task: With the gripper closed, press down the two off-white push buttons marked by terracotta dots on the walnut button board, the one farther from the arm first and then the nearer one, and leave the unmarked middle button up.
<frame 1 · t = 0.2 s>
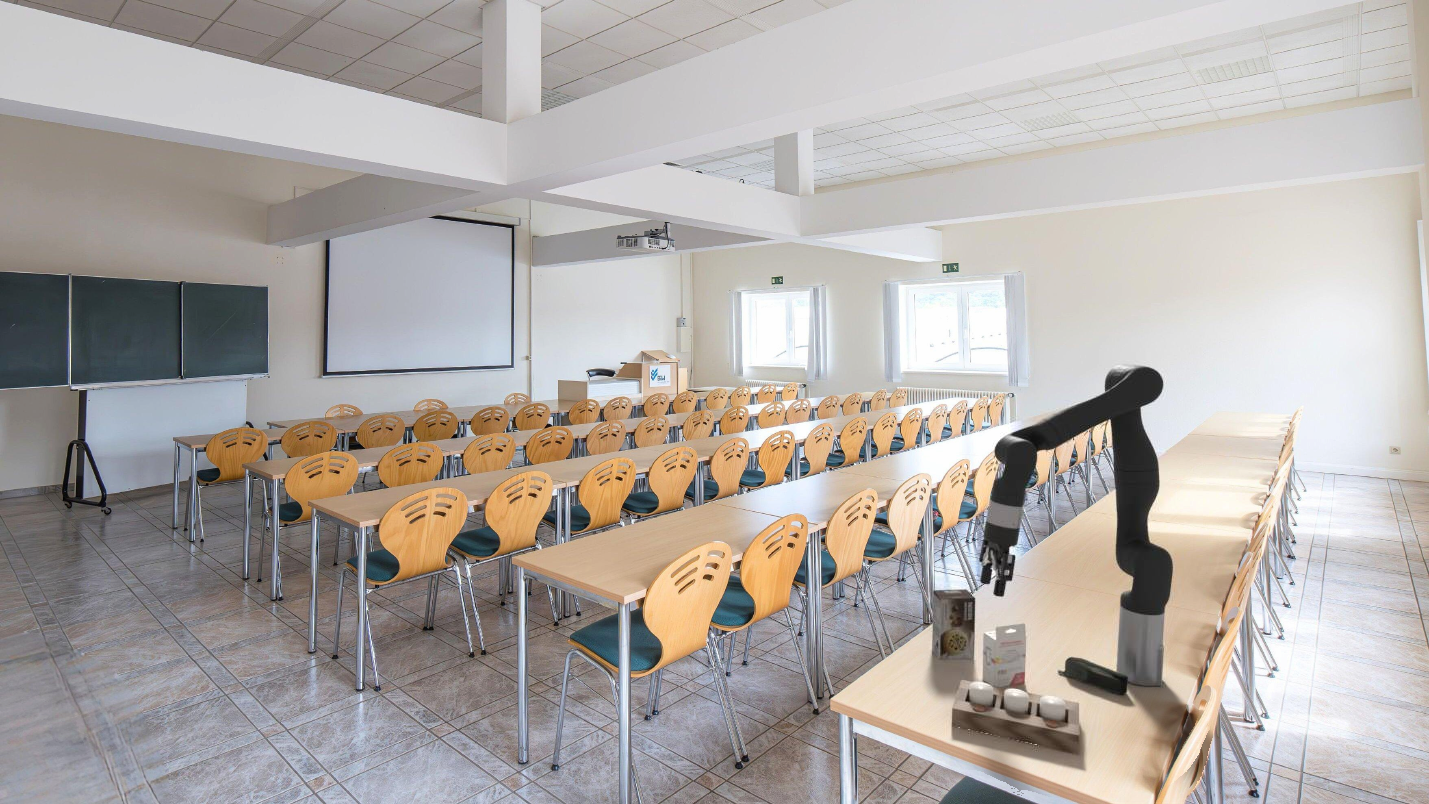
hand: (991, 589, 172), 23 cm above the table, tool pointing down, fingers open, 8 cm apart
button board: (1015, 723, 156), on the table
button middle: (1016, 703, 156), point 5 cm above the table, slide at 0.0 cm
dark green stapler: (1091, 684, 174), on the table
ink cartridge box: (1003, 682, 175), on the table
button outer: (981, 696, 159), point 5 cm above the table, slide at 0.0 cm
button inner: (1052, 710, 153), point 4 cm above the table, slide at 0.0 cm
coffee box: (952, 654, 189), on the table
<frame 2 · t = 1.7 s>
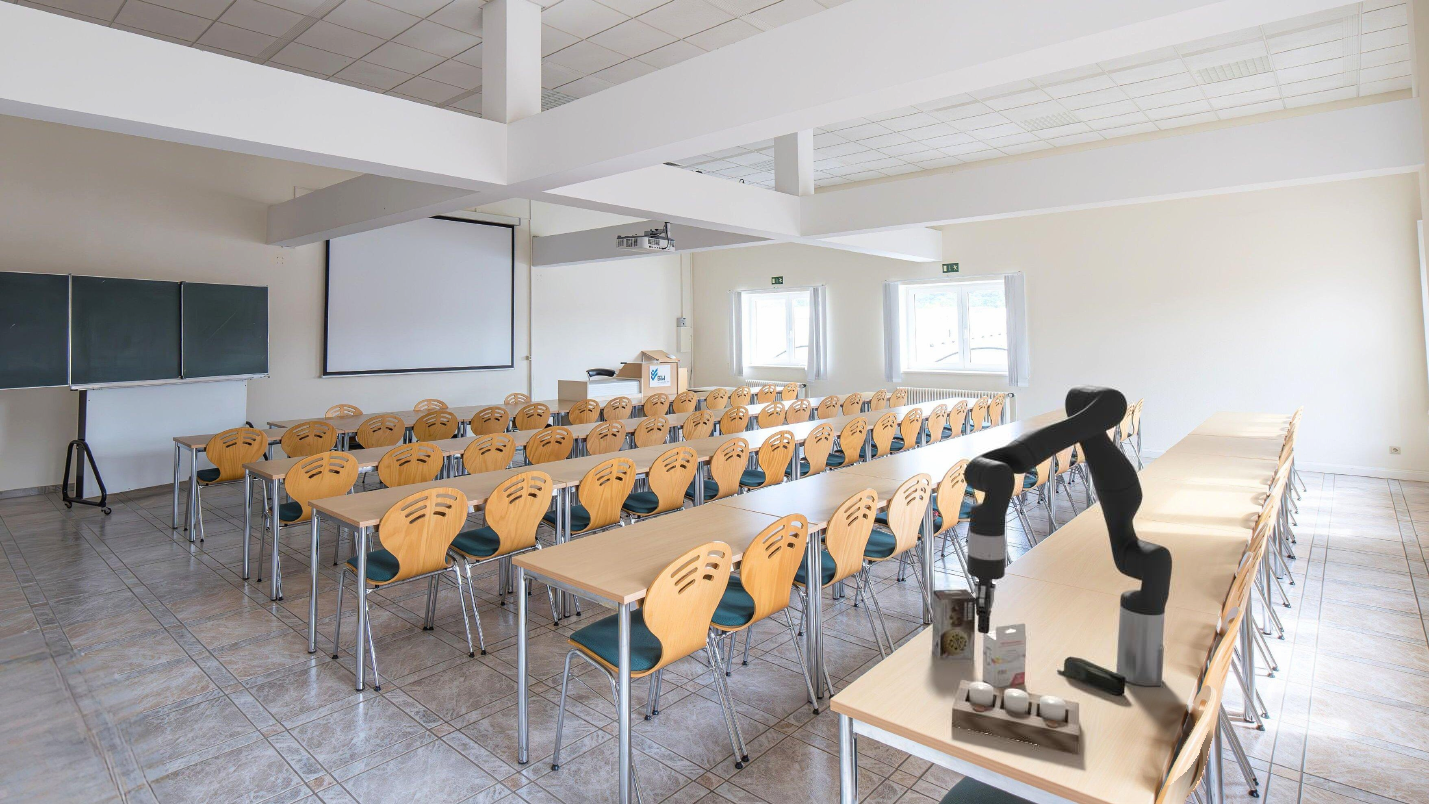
hand: (983, 631, 157), 19 cm above the table, tool pointing down, fingers closed
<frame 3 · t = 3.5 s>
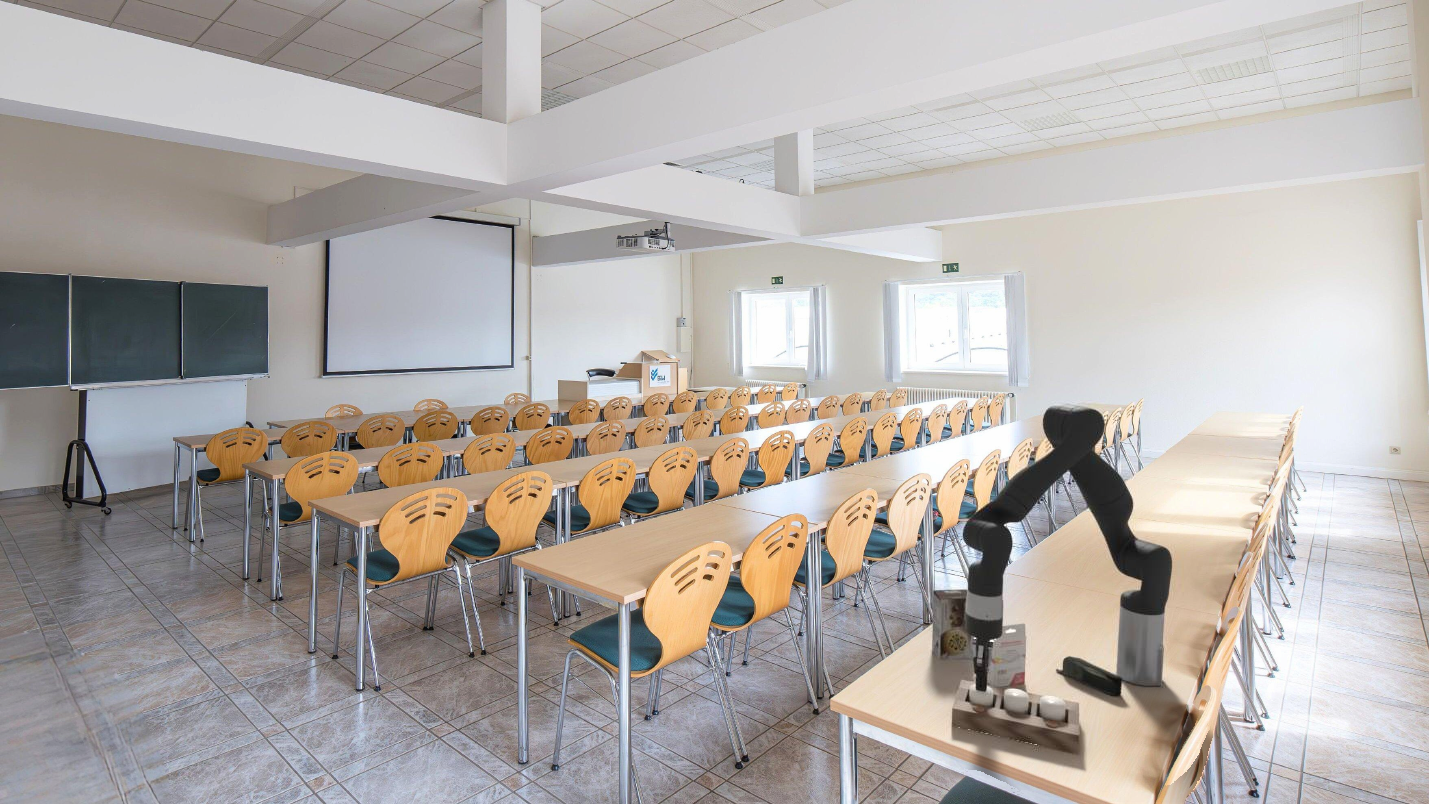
hand: (981, 689, 158), 6 cm above the table, tool pointing down, fingers closed
button outer: (981, 698, 159), point 4 cm above the table, slide at 0.5 cm, touching gripper
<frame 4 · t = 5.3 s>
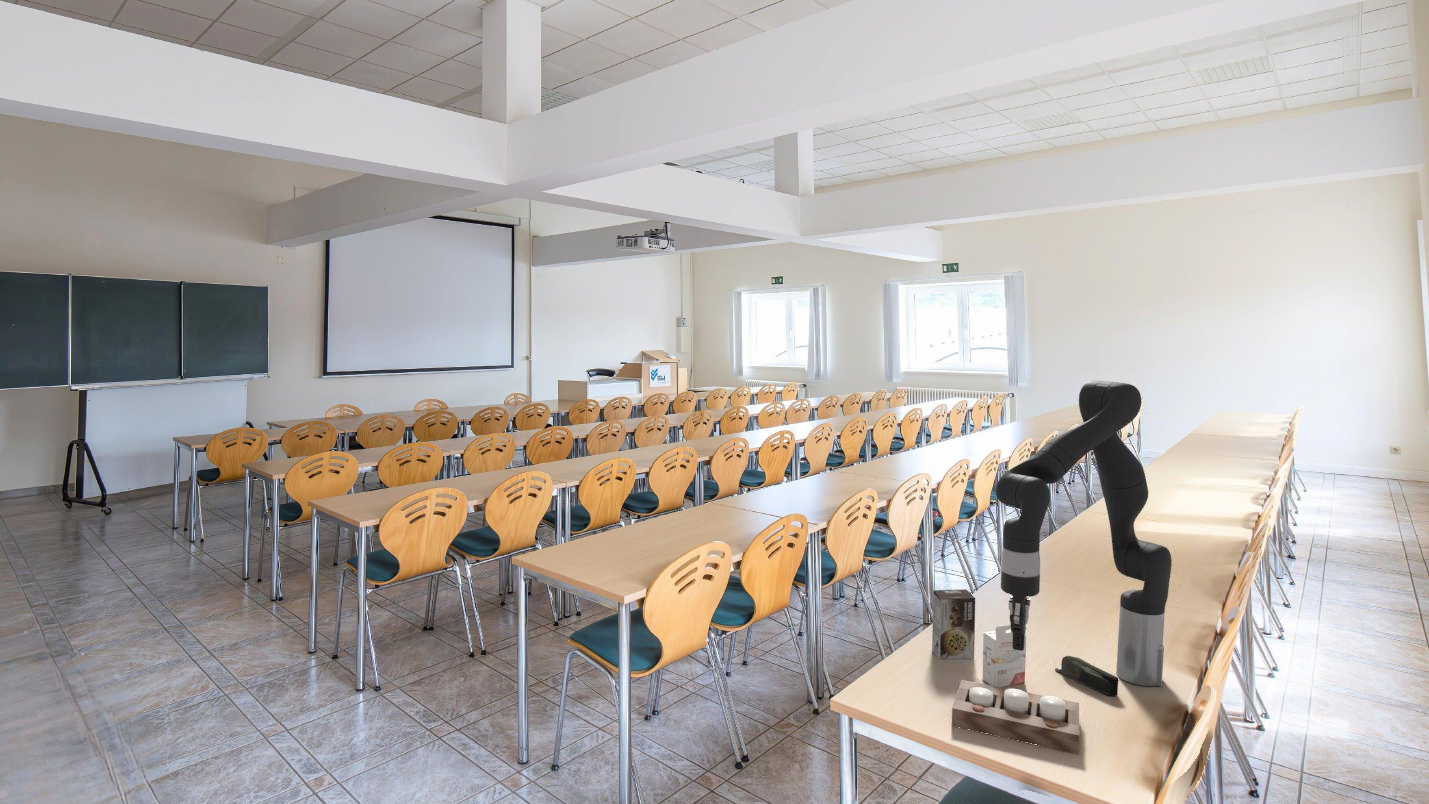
hand: (1018, 648, 155), 16 cm above the table, tool pointing down, fingers closed
button outer: (981, 701, 159), point 3 cm above the table, slide at 1.2 cm
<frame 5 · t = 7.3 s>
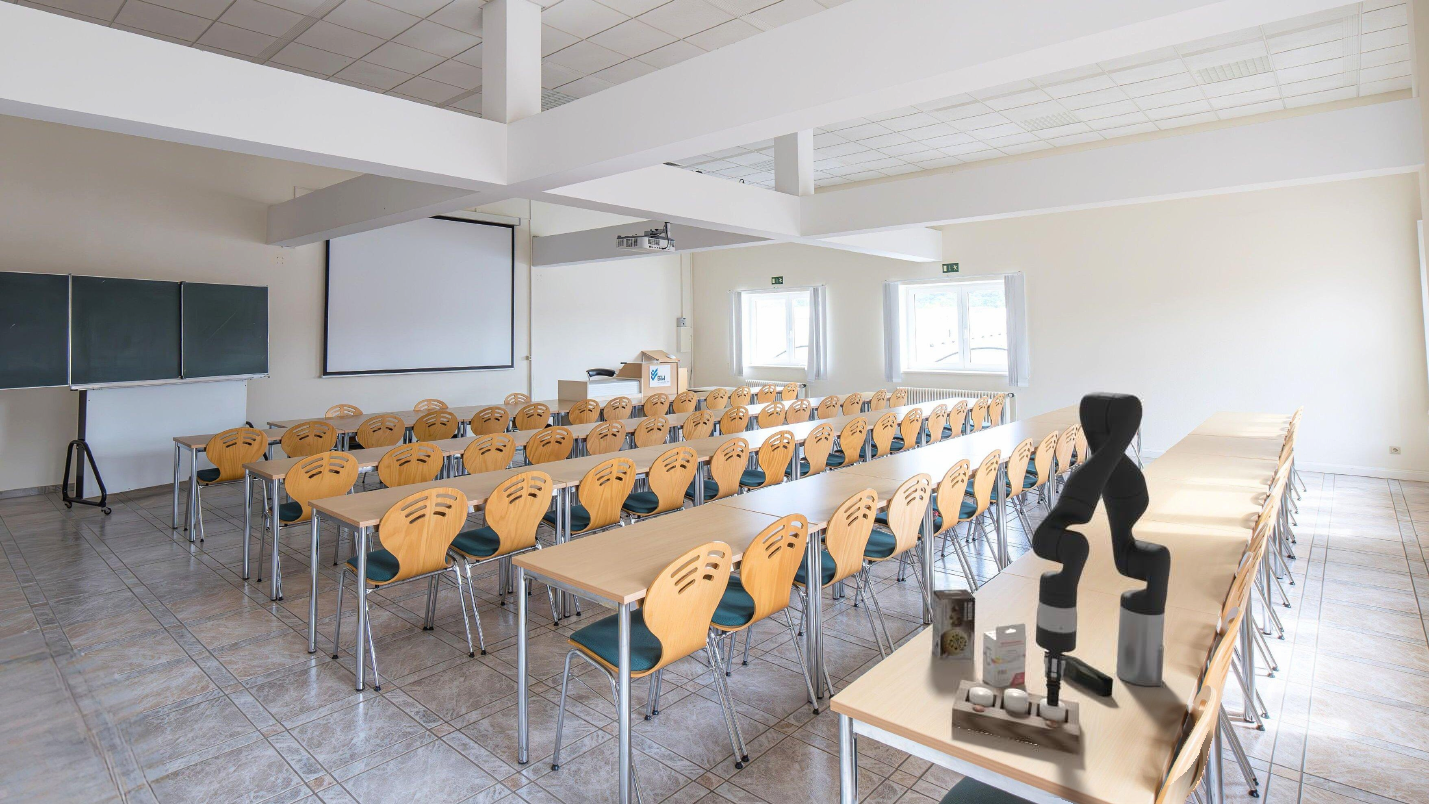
hand: (1052, 704, 152), 6 cm above the table, tool pointing down, fingers closed
button inner: (1052, 713, 153), point 4 cm above the table, slide at 0.6 cm, touching gripper
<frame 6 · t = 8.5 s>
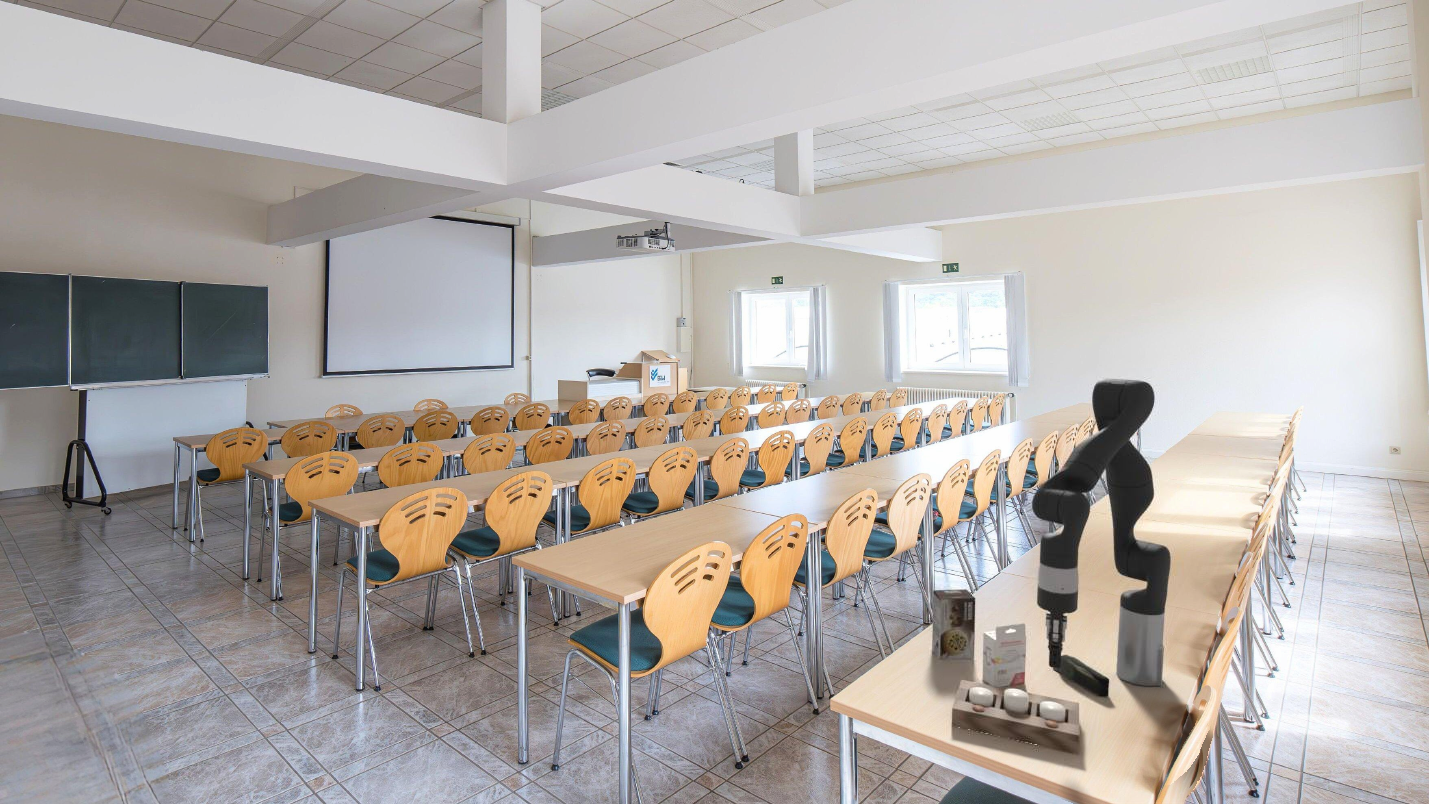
hand: (1054, 666, 152), 14 cm above the table, tool pointing down, fingers closed
button inner: (1052, 716, 153), point 3 cm above the table, slide at 1.2 cm
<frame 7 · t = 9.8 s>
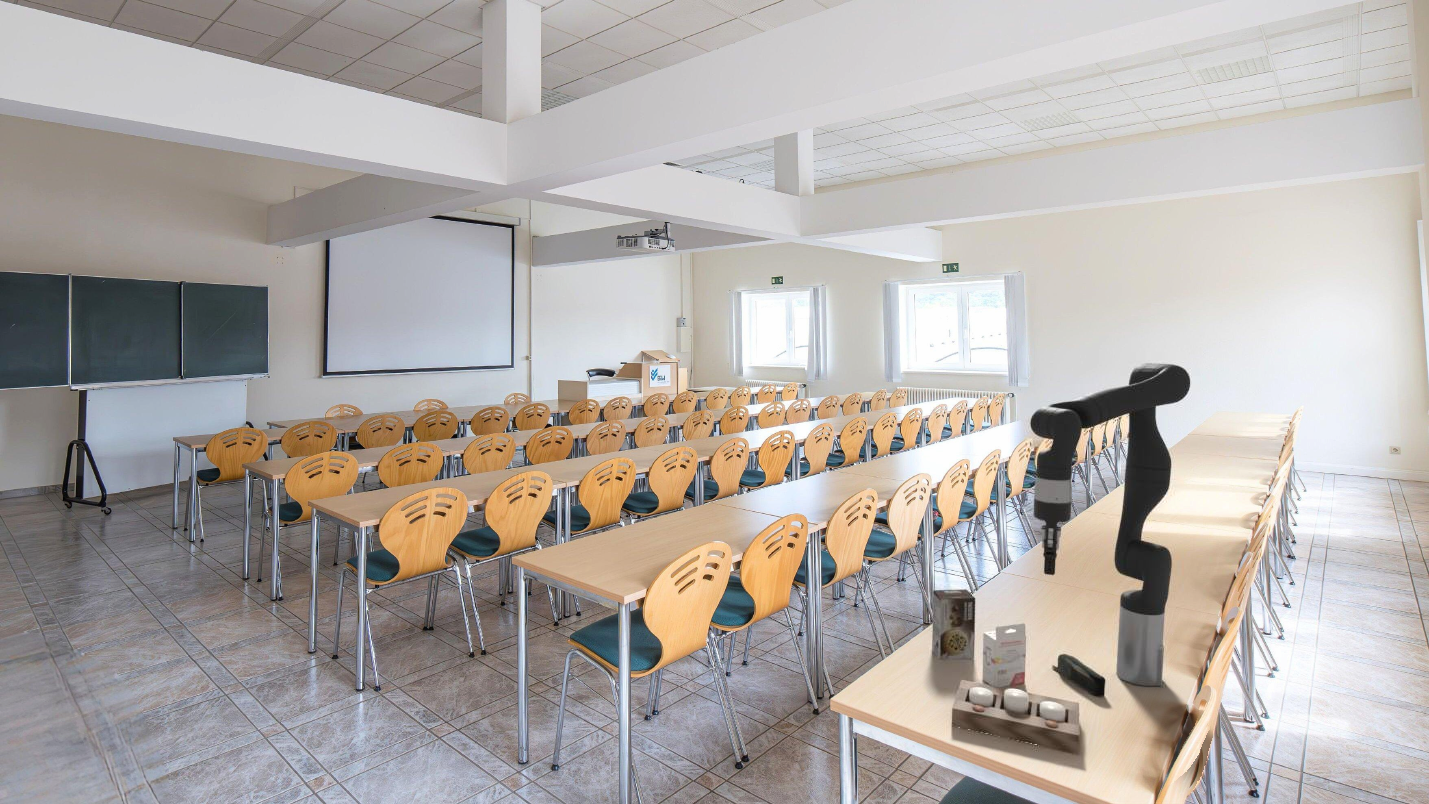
hand: (1049, 573, 164), 29 cm above the table, tool pointing down, fingers closed
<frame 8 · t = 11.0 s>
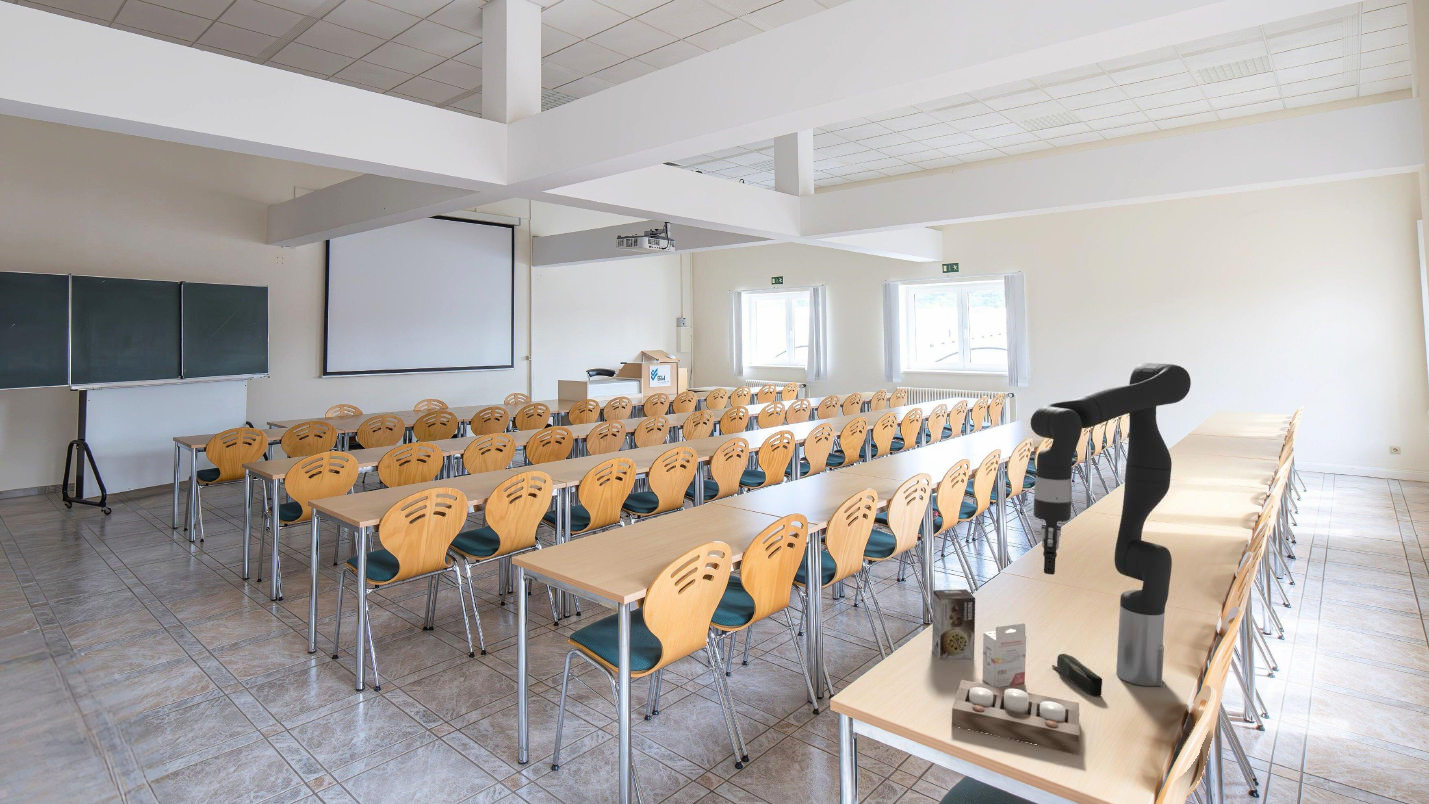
hand: (1049, 573, 164), 29 cm above the table, tool pointing down, fingers closed
at the end: button outer slide at 1.2 cm; button inner slide at 1.2 cm; button middle slide at 0.0 cm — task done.
